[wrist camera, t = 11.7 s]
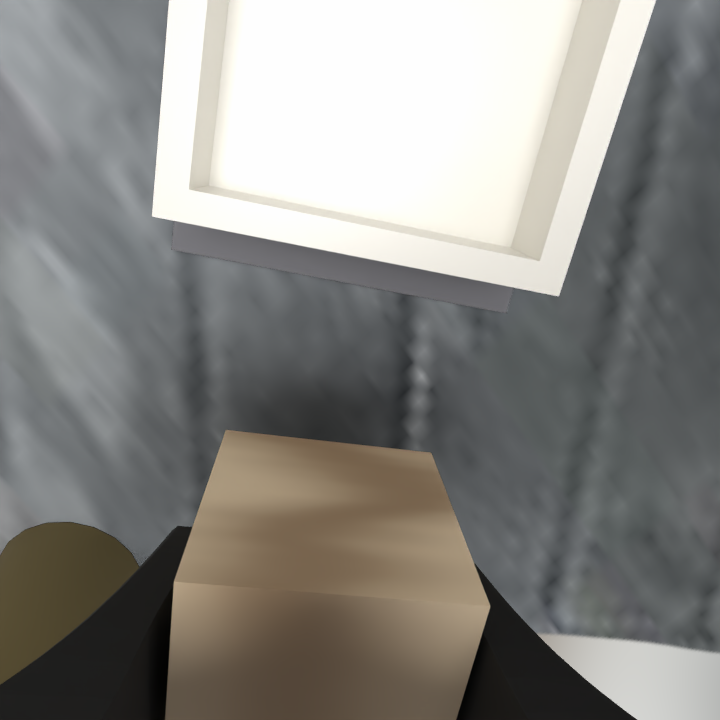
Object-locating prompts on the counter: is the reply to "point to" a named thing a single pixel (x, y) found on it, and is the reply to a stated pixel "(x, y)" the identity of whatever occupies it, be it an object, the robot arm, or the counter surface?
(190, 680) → the wooden block
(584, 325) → the counter surface
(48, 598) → the cork
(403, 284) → the flat gray panel
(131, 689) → the robot arm
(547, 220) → the white square tray
